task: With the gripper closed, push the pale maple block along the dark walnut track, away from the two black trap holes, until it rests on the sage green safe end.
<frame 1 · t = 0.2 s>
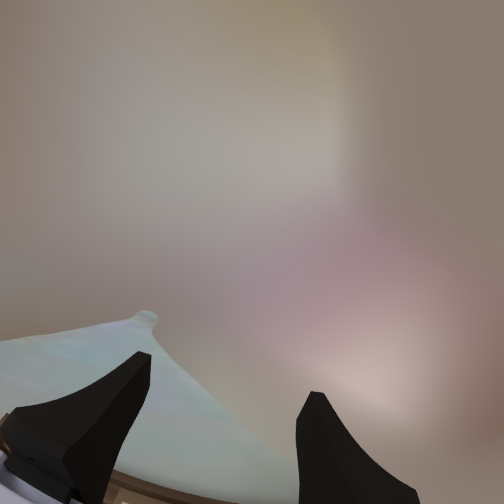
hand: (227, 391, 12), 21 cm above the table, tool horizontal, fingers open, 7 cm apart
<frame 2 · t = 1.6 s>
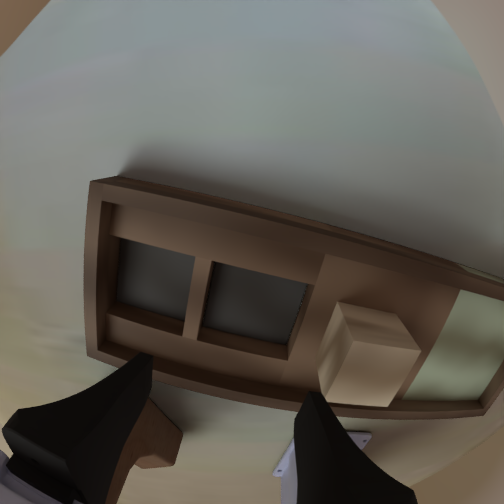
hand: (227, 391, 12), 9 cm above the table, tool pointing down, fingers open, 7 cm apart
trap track: (349, 321, 22), on the table
maple block: (355, 336, 20), point 2 cm above the table, touching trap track
wooden block: (142, 408, 26), on the table
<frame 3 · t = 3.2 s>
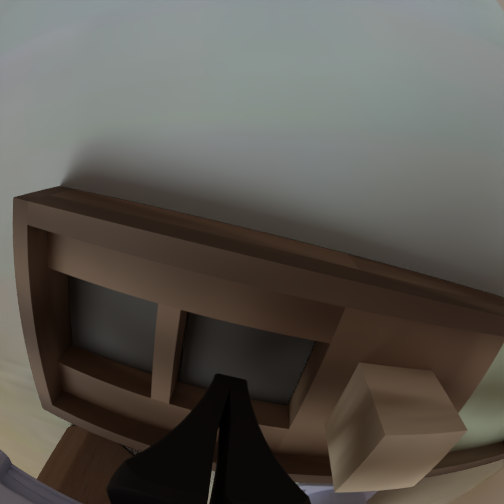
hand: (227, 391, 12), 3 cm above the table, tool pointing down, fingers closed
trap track: (369, 376, 15), on the table
maple block: (378, 399, 14), point 2 cm above the table, touching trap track
wooden block: (118, 454, 20), on the table
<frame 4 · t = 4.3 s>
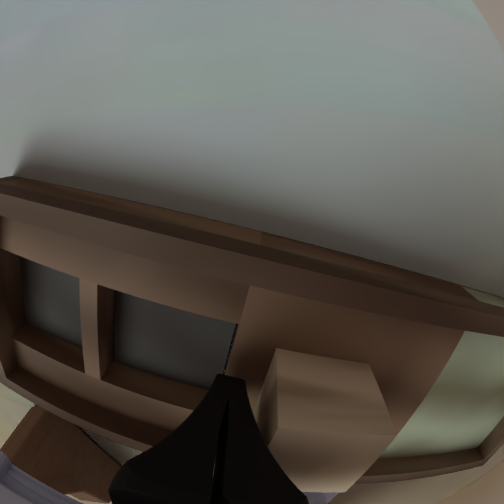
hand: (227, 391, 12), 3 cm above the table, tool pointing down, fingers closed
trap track: (304, 367, 15), on the table
maple block: (308, 392, 13), point 2 cm above the table, touching gripper, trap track
wooden block: (77, 437, 20), on the table
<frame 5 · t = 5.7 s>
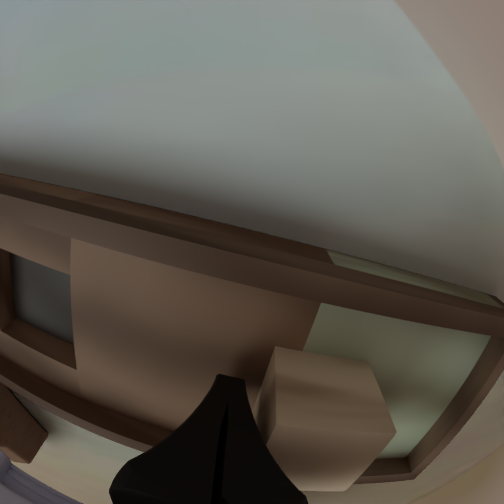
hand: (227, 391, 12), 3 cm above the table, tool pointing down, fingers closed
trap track: (155, 332, 15), on the table
maple block: (307, 390, 13), point 2 cm above the table, touching gripper
wooden block: (12, 400, 20), on the table
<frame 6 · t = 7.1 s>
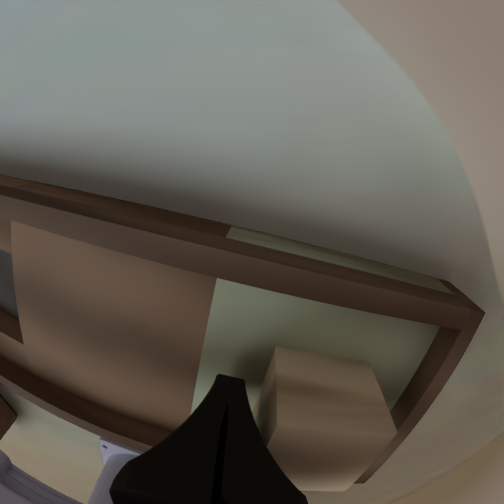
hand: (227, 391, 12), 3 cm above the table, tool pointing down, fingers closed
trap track: (87, 309, 15), on the table
maple block: (308, 390, 13), point 2 cm above the table, touching gripper, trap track
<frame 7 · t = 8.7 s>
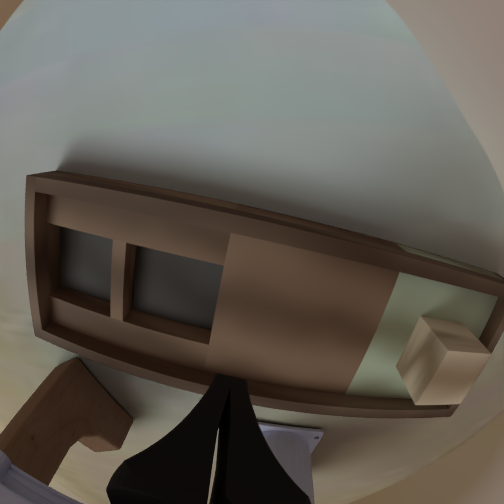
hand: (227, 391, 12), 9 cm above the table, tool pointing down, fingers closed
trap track: (275, 307, 22), on the table
maple block: (430, 344, 20), point 2 cm above the table, touching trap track
wooden block: (94, 392, 26), on the table
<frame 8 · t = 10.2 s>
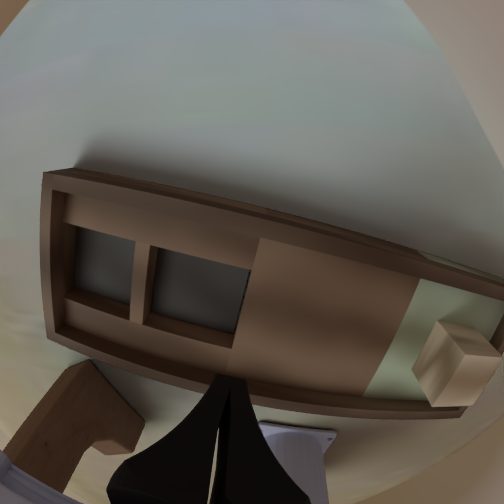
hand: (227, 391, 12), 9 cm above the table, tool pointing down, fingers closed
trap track: (298, 311, 21), on the table
maple block: (444, 348, 20), point 2 cm above the table, touching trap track
wooden block: (106, 395, 26), on the table
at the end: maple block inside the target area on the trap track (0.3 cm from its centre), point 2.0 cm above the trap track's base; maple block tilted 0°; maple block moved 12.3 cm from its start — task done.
